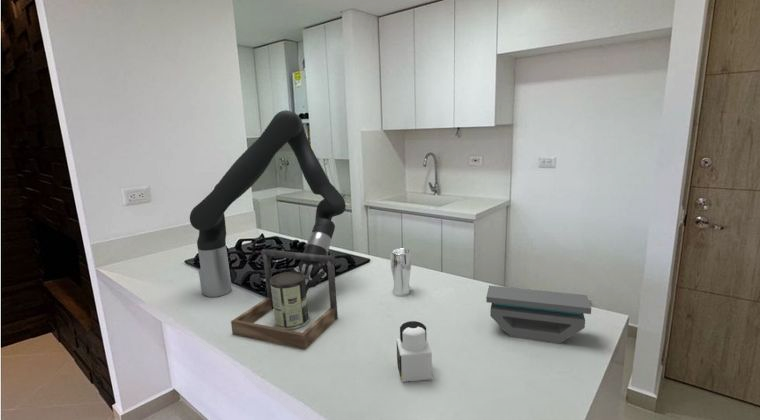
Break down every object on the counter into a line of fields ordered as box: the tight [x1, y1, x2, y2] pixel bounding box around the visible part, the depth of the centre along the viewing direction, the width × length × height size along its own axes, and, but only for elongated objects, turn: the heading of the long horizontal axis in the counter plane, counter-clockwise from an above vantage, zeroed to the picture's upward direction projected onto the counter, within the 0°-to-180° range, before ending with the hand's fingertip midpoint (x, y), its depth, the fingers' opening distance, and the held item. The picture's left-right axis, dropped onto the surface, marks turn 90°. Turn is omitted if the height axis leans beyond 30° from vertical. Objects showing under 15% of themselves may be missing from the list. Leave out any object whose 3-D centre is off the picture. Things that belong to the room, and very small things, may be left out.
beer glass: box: [390, 247, 412, 297], centre depth 134 cm, size 7×7×15 cm
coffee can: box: [270, 271, 310, 331], centre depth 117 cm, size 10×10×14 cm
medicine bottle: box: [396, 320, 433, 383], centre depth 91 cm, size 7×7×12 cm
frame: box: [230, 248, 339, 350], centre depth 114 cm, size 18×25×20 cm
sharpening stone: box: [485, 285, 592, 345], centre depth 105 cm, size 25×8×11 cm, turn 70°
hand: (299, 298), depth 122 cm, fingers closed
